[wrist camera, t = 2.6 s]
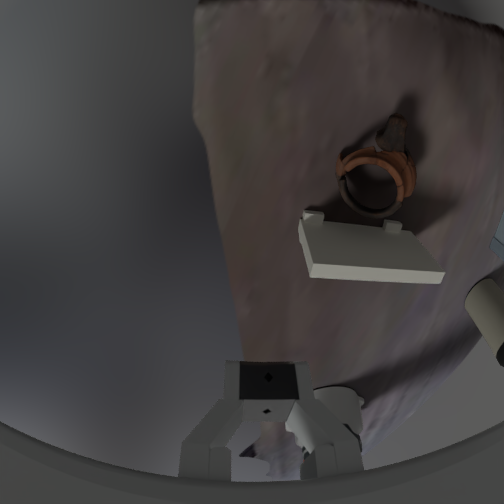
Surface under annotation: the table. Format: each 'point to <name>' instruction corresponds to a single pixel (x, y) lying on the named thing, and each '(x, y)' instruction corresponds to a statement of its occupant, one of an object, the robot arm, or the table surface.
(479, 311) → the travel mug
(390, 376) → the table surface
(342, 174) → the pottery mug
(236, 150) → the table surface
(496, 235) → the handle
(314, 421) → the robot arm
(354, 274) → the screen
